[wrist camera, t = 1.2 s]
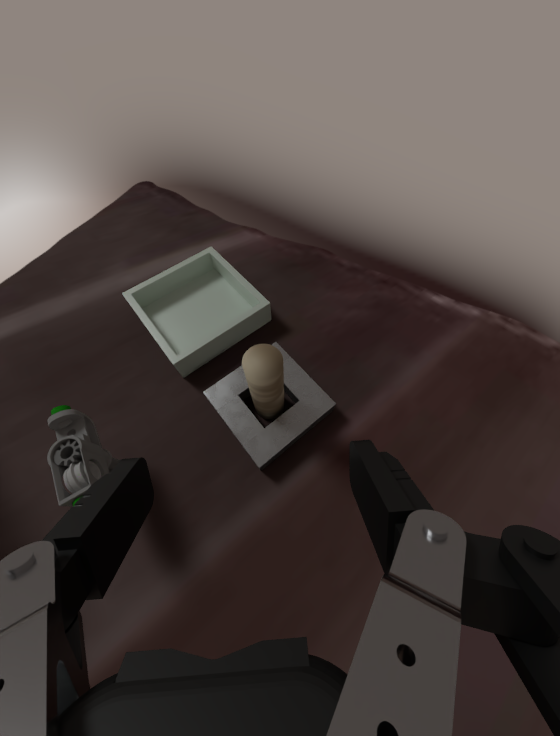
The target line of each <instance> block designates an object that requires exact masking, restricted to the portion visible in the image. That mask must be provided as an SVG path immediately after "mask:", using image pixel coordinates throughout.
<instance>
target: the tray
mask: <svg viewBox="0 0 560 736" xmlns="http://www.w3.org/2000/svg"><path fill="white" fill-rule="evenodd" d="M122 294H123V296H124V297H125V298H126V300H127V301H128V303H129V304H130V305H131V307H132V308H133V310H134V311H135V312H136V314H137V315H138V316H139V318H140V319H141V321H142V322H143V323H144V325H145V326H146V328H147V329H148V330H149V332H150V333H151V335H152V336H153V337H154V339H155V340H156V341H157V343H158V344H159V346H160V347H161V348H162V350H163V351H164V353H165V354H166V355H167V357H168V358H169V360H170V361H171V362H172V364H173V365H174V366H175V368H176V369H177V370H178V372H179V373H180V374H181V376H182V377H183V378H184V377H186V376H187V375H189V374H190V373H192V372H193V371H195V370H196V369H198V368H200V367H201V366H203V365H204V364H206V363H207V362H209V361H210V360H212V359H213V358H215V357H216V356H218V355H219V354H221V353H222V352H224V351H225V350H227V349H228V348H230V347H231V346H233V345H234V344H236V343H237V342H239V341H240V340H242V339H244V338H245V337H247V336H248V335H250V334H251V333H253V332H254V331H256V330H257V329H259V328H260V327H262V326H263V325H265V324H266V323H268V322H269V321H271V307H270V302H269V301H268V300H266V299H265V298H264V297H263V296H262V295H261V294H260V293H259V292H258V291H257V290H256V289H255V288H254V287H253V286H252V285H251V284H250V283H249V282H248V281H247V280H246V279H245V278H244V277H242V276H241V275H240V274H239V273H238V272H237V271H236V270H235V269H234V268H233V267H232V266H231V265H230V264H229V263H228V262H227V261H226V260H225V259H224V258H223V257H222V256H221V255H220V254H218V253H217V252H216V251H215V250H214V249H213V248H212V247H209V248H207V249H206V250H204V251H202V252H200V253H198V254H196V255H194V256H192V257H190V258H188V259H187V260H185V261H183V262H181V263H179V264H177V265H175V266H173V267H171V268H169V269H167V270H166V271H164V272H162V273H160V274H158V275H156V276H154V277H152V278H150V279H148V280H147V281H145V282H143V283H141V284H139V285H137V286H135V287H133V288H131V289H129V290H127V291H126V292H124V293H122Z"/></svg>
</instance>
